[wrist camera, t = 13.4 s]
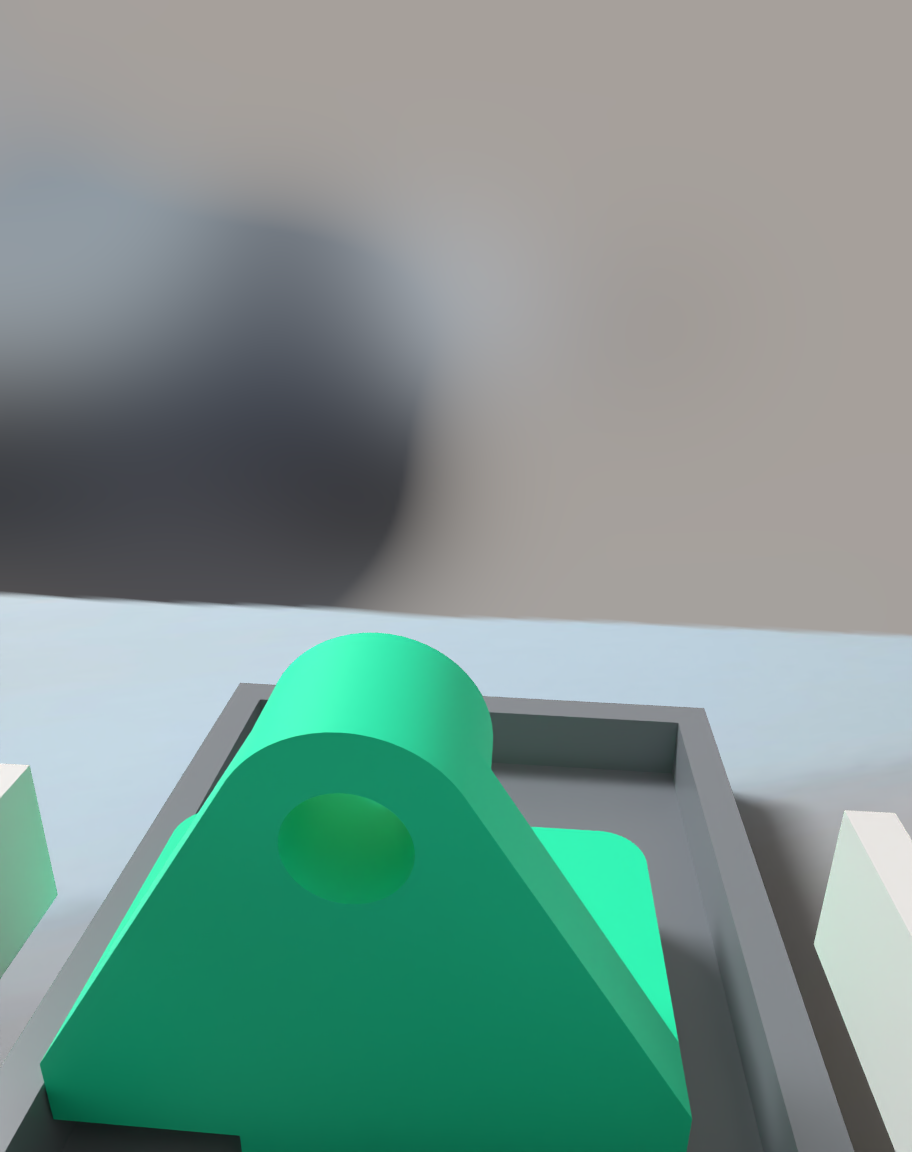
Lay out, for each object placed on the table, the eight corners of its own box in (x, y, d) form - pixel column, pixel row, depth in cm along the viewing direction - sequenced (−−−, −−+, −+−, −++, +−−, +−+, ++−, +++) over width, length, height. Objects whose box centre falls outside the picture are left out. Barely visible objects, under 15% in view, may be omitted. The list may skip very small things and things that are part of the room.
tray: (-157, 1515, 13) (-214, 1408, 12) (247, 754, 31) (240, 683, 30) (935, 1657, 12) (990, 1553, 11) (693, 781, 30) (704, 708, 29)
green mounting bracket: (632, 911, 23) (674, 557, 19) (675, 1212, 16) (756, 754, 12) (198, 882, 24) (152, 536, 20) (62, 1156, 17) (-50, 710, 13)
